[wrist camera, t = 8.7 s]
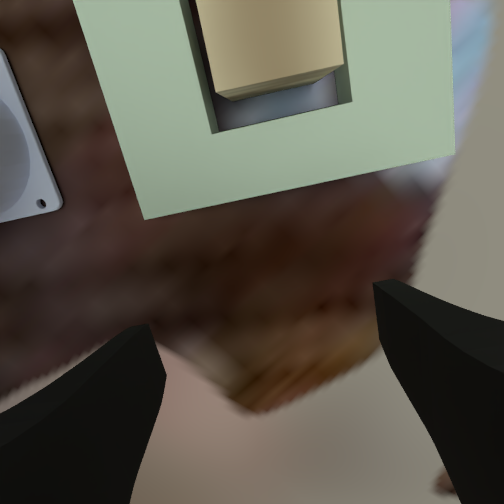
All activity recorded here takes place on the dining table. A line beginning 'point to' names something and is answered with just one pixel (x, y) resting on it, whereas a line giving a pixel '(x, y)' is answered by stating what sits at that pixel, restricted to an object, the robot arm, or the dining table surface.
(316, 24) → the square peg
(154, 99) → the hole plate
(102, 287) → the dining table surface
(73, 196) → the dining table surface
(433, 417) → the robot arm
